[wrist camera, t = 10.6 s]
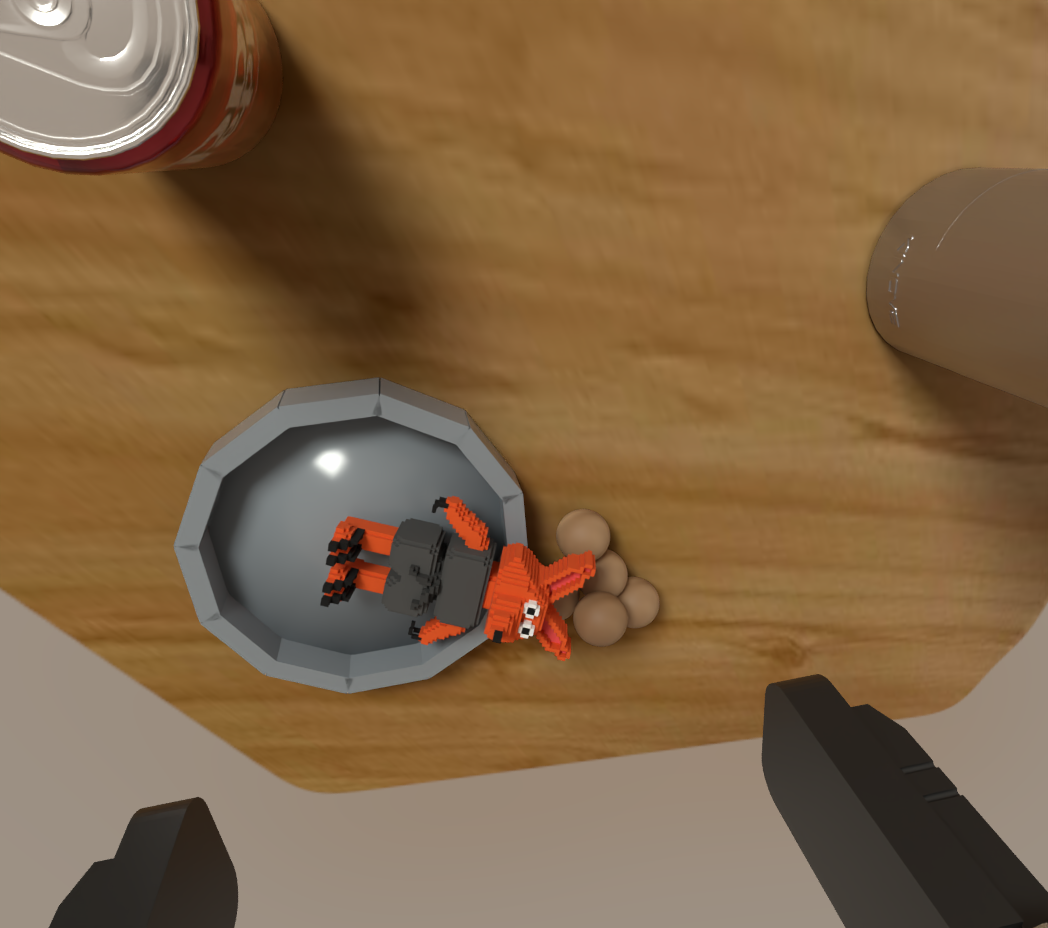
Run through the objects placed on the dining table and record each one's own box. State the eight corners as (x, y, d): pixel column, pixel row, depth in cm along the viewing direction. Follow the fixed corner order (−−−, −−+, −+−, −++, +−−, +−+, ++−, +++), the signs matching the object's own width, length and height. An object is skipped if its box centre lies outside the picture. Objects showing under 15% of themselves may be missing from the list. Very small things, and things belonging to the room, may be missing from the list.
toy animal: (320, 514, 28) (608, 579, 28) (358, 466, 33) (601, 522, 33) (300, 671, 31) (561, 729, 31) (338, 605, 36) (562, 655, 36)
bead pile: (649, 488, 37) (685, 533, 32) (649, 603, 40) (681, 659, 36) (516, 509, 36) (534, 558, 31) (526, 625, 39) (544, 685, 35)
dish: (504, 361, 32) (512, 376, 30) (529, 630, 39) (537, 658, 37) (149, 406, 30) (131, 425, 28) (240, 683, 37) (231, 715, 35)
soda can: (287, -32, 25) (211, -173, 14) (284, 181, 28) (219, 198, 17) (64, -80, 23) (-212, -280, 13) (84, 151, 26) (-128, 148, 15)
